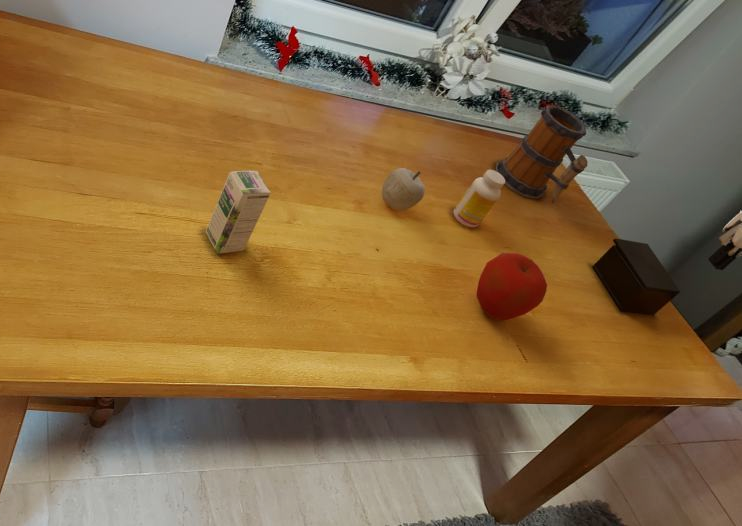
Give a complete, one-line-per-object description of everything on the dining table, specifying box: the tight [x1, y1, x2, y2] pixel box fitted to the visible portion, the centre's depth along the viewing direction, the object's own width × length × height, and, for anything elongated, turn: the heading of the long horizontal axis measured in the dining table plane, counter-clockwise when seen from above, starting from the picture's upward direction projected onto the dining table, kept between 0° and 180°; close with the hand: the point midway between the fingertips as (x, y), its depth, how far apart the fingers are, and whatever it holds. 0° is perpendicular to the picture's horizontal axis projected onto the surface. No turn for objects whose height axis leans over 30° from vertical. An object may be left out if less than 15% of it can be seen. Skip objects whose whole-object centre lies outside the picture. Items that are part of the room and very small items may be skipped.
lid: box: [612, 237, 682, 295], centre depth 155 cm, size 15×11×1 cm
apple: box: [476, 252, 548, 322], centre depth 132 cm, size 12×12×14 cm
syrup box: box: [205, 170, 272, 255], centre depth 118 cm, size 6×6×14 cm
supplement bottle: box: [453, 169, 505, 228], centre depth 153 cm, size 7×7×13 cm
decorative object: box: [381, 167, 426, 211], centre depth 147 cm, size 9×9×10 cm
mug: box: [494, 104, 588, 204], centre depth 172 cm, size 19×14×20 cm
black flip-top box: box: [591, 244, 679, 316], centre depth 158 cm, size 14×11×8 cm
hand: (714, 264), depth 143 cm, fingers closed
